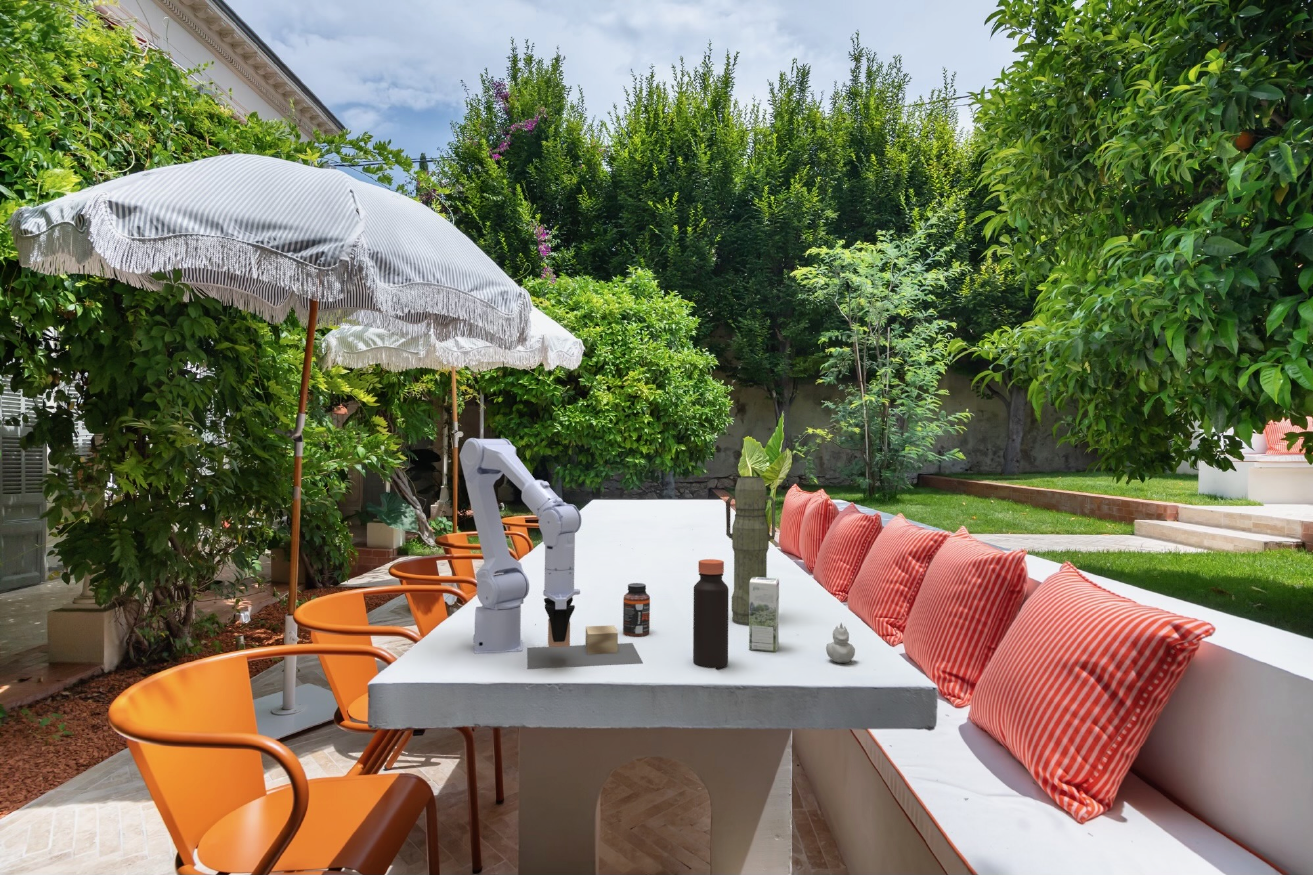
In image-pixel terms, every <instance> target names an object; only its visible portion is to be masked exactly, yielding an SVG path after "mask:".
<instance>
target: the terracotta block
mask: <svg viewBox="0 0 1313 875" xmlns="http://www.w3.org/2000/svg"><path fill="white" fill-rule="evenodd" d="M547 620H548V621H547V626H548V627H547V629H548V631H547V647H570V646H571V619H570V620H569V624H568V628H567V634H566V638H565V641H564V642H554V641H553V637H552V630H551V623H550V619H549V618H548V619H547Z"/></svg>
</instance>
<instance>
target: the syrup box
mask: <svg viewBox="0 0 1313 875" xmlns="http://www.w3.org/2000/svg"><path fill="white" fill-rule="evenodd" d="M779 598H780V579H779V578H778V577H777V578H776V577H767V578H764V577H752V578H751V580H750V583H749V626H748V629H749V630H748V633H749V634H748V643H749V644H748V650H751V651H760V652H771V653H776V652H777V650H778V647H779V643H780V642H779V641H780V640H779V639H780V638H779V618H780V617H779V614H780V613H779V612H780V610H779V608H780V607H779V605H780V600H779Z"/></svg>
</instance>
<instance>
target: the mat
mask: <svg viewBox="0 0 1313 875" xmlns="http://www.w3.org/2000/svg"><path fill="white" fill-rule="evenodd" d="M526 648H527V649H526V655H527V657H526V659H527V662H526V666H527V667H526V669H527V670H536V669H537V670H538V669H558V668H559V669H560V668H577V667H578V668H579V667H580V668H581V667H592V666H593V667H599V666H617V665H618V666H619V665H639V664H641V665H642V664H644V662H643V660H642V658H641V656H640V654H639V652H638V651H637V648H636V647H635V645H634V643H633V642H627V643H625V642H624V643H623V642H622V643H621V642H620V643H618V653H602V654H588V652H587V649H586V644H580V645H570V647H549V646H535V647H526Z"/></svg>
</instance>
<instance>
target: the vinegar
mask: <svg viewBox="0 0 1313 875" xmlns="http://www.w3.org/2000/svg"><path fill="white" fill-rule="evenodd" d="M724 566H725V563H724V561H723V560H721V559H715V558H714V559H713V558H710V559H700V560H698V575H699V580H698V581H697V582H696V583H695V584H694V586H693V611H692V612H693V621H692V622H693V628H692V629H693V630H692V632H693V635H692V648H693V649H692V650H693V651H692V652H693V653H692V656H693V658H692V661H693V665H695V666H697V667H700V668H707V669H716V670H717V669H718V670H720V669H723V668H726V667H727V666H728V664H729V586H728V584H727V583H725V581H724V580H723V576H724V572H725V569H724V568H725V567H724Z"/></svg>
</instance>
